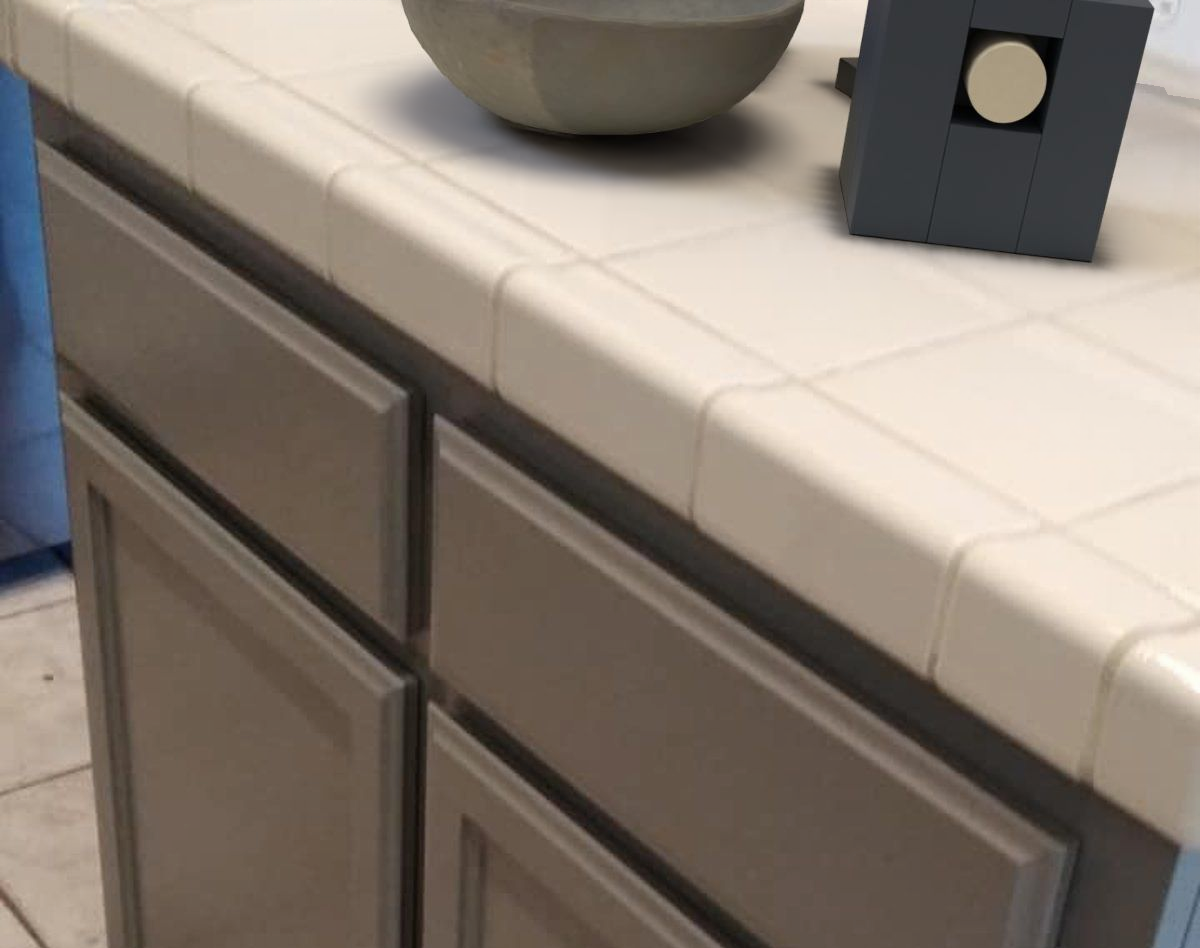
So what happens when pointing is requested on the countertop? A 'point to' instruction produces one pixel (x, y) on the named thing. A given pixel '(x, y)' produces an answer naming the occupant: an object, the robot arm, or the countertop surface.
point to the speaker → (989, 125)
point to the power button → (1003, 75)
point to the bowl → (605, 57)
